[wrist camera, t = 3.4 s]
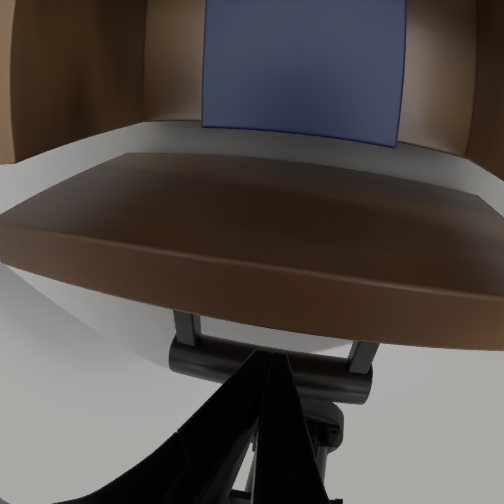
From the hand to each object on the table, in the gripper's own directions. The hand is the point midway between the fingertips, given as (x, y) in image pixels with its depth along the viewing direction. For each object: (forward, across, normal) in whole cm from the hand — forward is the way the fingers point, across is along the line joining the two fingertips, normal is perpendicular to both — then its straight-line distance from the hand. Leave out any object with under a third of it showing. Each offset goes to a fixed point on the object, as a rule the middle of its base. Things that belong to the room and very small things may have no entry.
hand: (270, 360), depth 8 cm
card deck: (+4, 0, -8) cm, 9 cm away
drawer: (+5, 0, -7) cm, 9 cm away
